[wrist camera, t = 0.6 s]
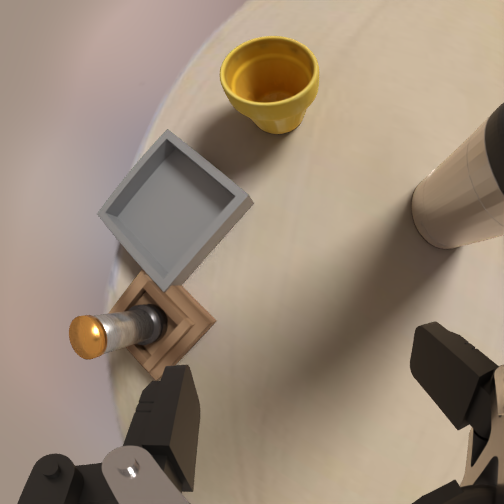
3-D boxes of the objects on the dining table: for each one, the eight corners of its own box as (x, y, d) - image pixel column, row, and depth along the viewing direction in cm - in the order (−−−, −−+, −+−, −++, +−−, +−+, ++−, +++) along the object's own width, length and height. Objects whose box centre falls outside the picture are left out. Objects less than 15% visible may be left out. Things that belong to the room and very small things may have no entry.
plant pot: (222, 128, 37) (199, 85, 27) (263, 74, 37) (252, 26, 27) (292, 161, 35) (288, 121, 25) (330, 101, 35) (335, 53, 25)
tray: (177, 140, 37) (167, 128, 34) (254, 203, 35) (248, 194, 31) (111, 219, 38) (96, 213, 35) (176, 291, 35) (163, 292, 32)
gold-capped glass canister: (149, 295, 33) (81, 299, 21) (175, 323, 32) (113, 341, 20) (128, 321, 33) (59, 334, 21) (152, 348, 32) (88, 374, 20)
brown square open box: (160, 262, 36) (142, 260, 32) (216, 320, 34) (204, 326, 30) (116, 318, 36) (96, 321, 32) (166, 374, 35) (150, 384, 30)
